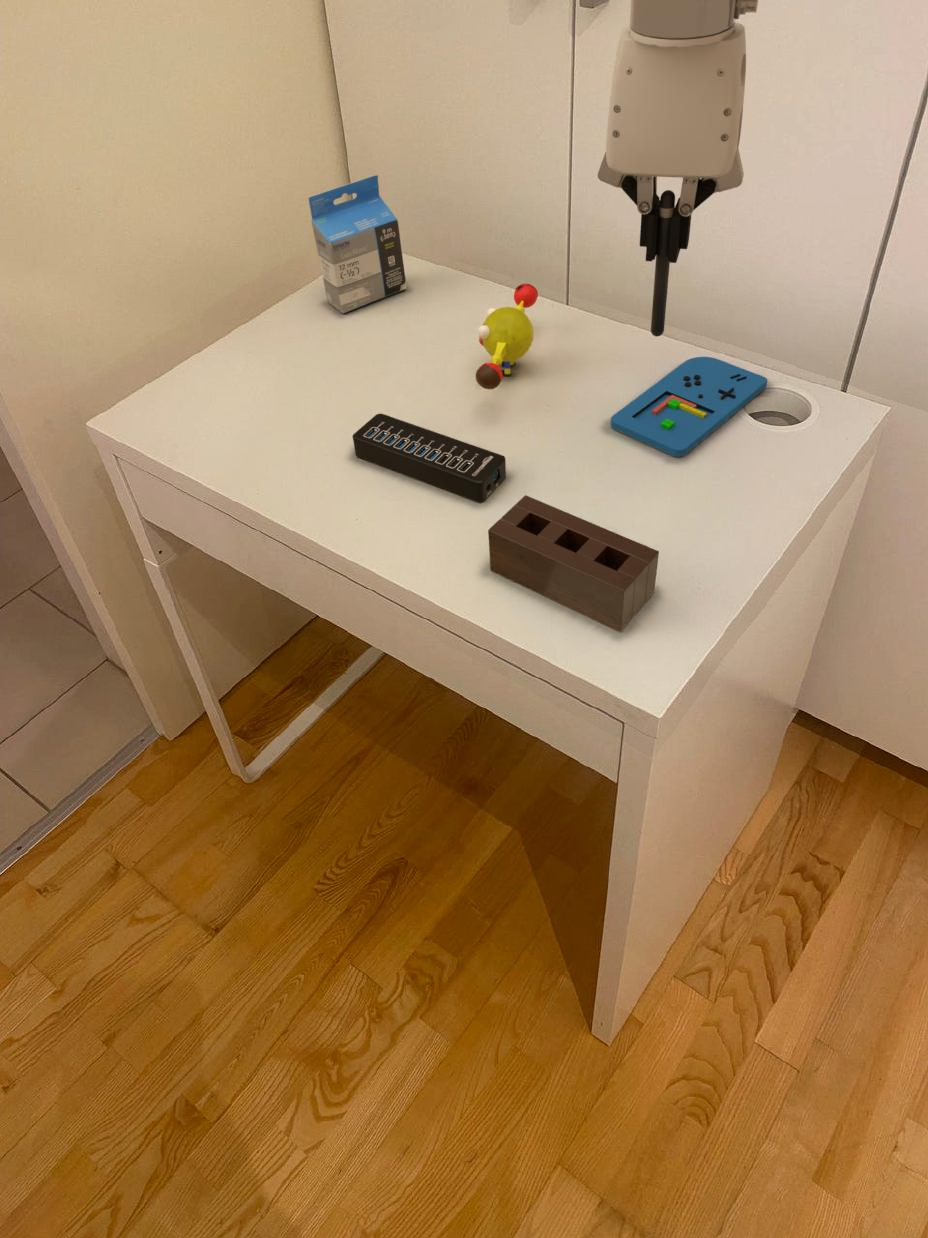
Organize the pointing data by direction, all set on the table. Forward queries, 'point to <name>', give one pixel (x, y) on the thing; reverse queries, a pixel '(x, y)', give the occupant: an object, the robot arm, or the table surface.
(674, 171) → the robot arm
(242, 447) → the table surface
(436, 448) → the multiport hub
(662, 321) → the stylus
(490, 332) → the toy figure
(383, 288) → the label tape box
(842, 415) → the table surface
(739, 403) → the handheld gaming device
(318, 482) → the table surface
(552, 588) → the pen stand
